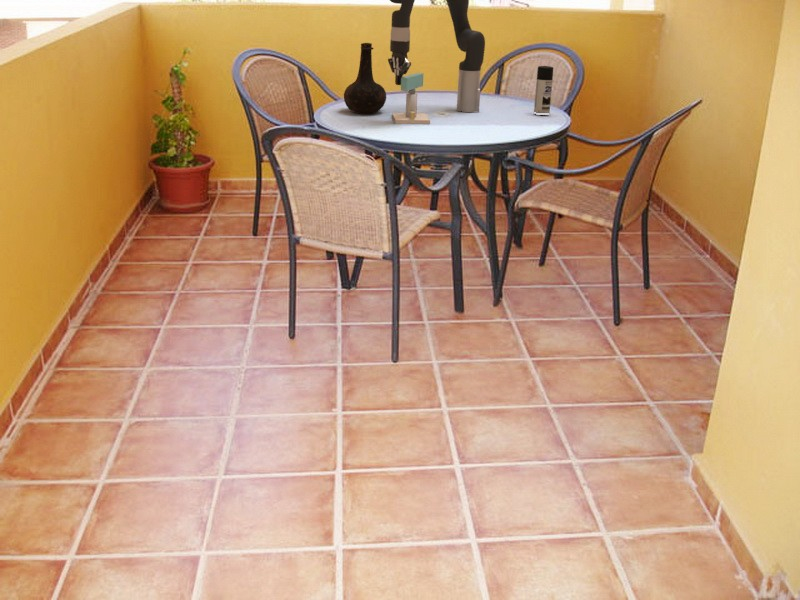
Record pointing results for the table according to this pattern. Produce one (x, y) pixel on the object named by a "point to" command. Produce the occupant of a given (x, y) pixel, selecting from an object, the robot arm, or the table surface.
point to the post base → (411, 113)
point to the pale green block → (411, 82)
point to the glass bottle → (365, 87)
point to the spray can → (543, 89)
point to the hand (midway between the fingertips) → (398, 84)
